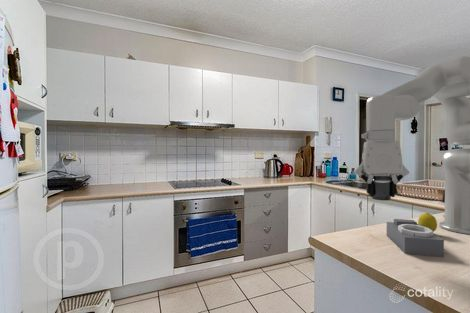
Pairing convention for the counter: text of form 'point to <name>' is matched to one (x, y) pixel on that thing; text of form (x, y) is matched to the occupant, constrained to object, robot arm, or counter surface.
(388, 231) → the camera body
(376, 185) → the lens
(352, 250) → the counter surface
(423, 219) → the lemon
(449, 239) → the counter surface
